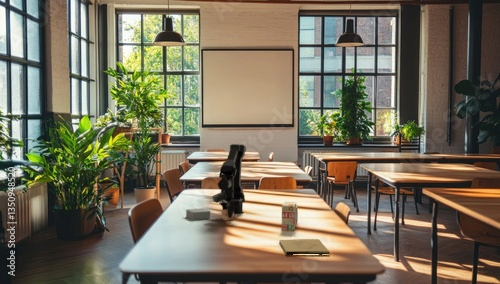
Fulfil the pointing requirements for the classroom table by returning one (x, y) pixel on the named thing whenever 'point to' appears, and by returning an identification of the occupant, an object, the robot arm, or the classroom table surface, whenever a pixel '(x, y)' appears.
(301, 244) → the olive notebook
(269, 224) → the classroom table surface
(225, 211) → the terracotta cube
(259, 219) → the classroom table surface
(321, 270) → the classroom table surface
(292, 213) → the printed carton
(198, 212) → the base block
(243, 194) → the robot arm
